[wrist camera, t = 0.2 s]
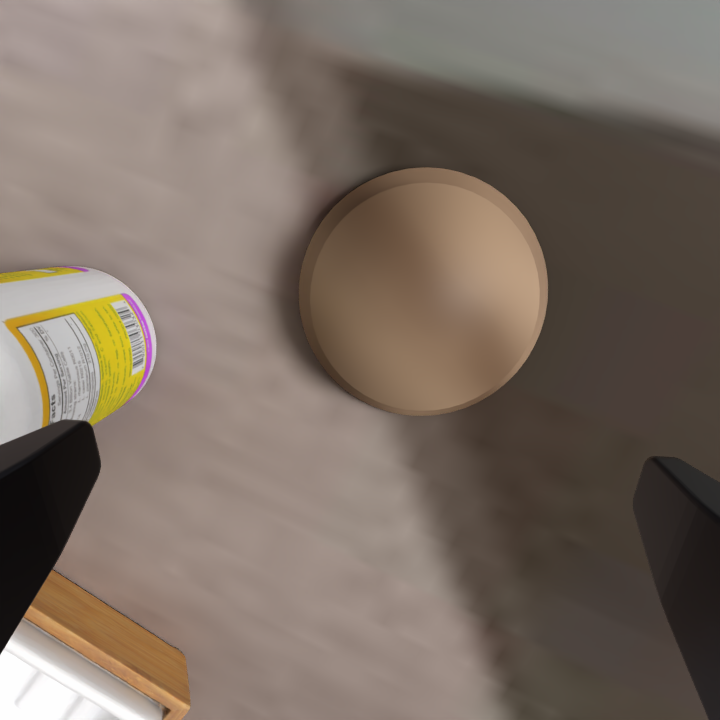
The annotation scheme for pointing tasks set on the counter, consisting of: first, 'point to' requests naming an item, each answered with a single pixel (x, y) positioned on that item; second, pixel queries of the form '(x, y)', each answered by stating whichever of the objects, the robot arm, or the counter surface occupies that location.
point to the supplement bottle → (69, 347)
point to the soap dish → (88, 663)
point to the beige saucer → (423, 291)
